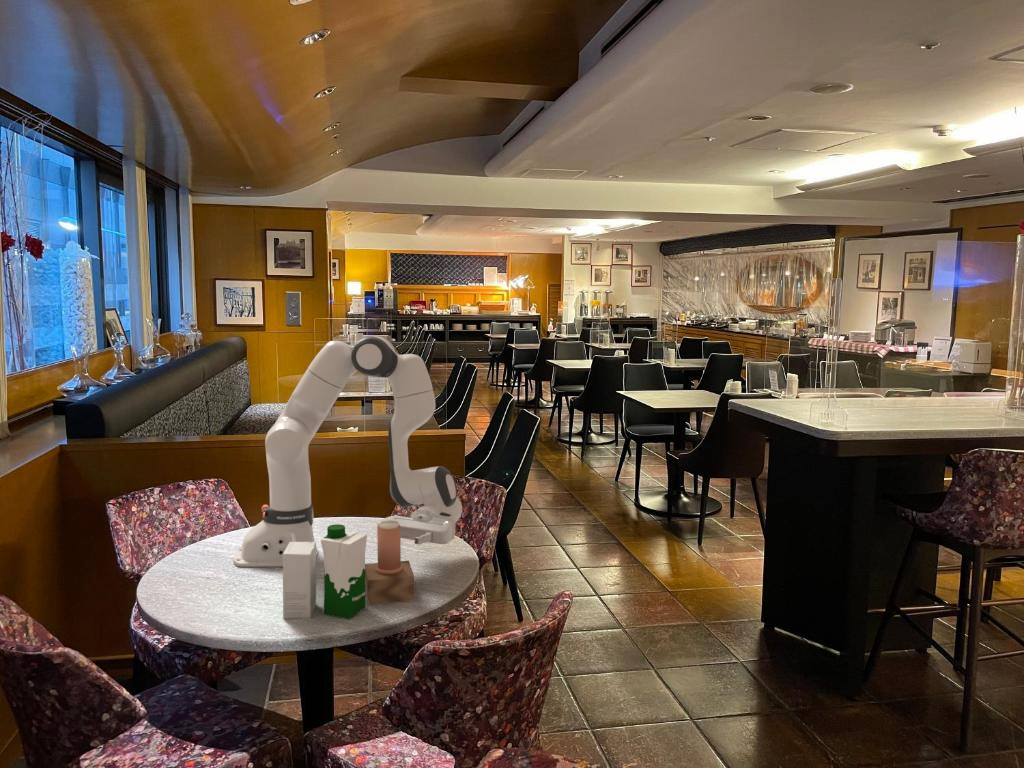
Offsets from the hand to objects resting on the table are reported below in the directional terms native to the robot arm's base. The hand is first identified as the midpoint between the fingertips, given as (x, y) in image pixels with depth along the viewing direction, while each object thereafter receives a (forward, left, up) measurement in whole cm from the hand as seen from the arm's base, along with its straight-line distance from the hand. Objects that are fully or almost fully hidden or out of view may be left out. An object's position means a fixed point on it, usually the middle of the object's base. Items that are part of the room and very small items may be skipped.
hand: (400, 538), depth 189 cm
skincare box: (-24, -11, -12) cm, 29 cm away
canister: (-3, -5, -6) cm, 8 cm away
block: (-3, -4, -12) cm, 13 cm away
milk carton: (-14, -13, -12) cm, 23 cm away
